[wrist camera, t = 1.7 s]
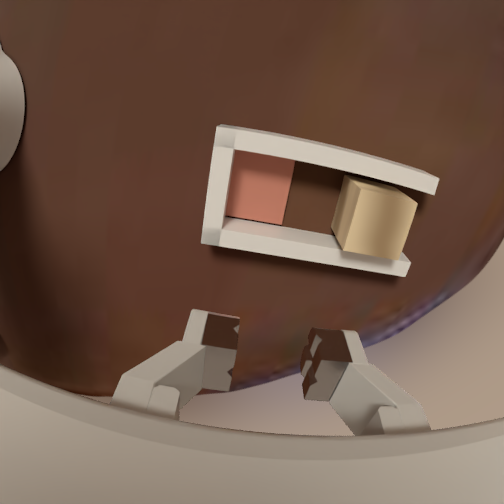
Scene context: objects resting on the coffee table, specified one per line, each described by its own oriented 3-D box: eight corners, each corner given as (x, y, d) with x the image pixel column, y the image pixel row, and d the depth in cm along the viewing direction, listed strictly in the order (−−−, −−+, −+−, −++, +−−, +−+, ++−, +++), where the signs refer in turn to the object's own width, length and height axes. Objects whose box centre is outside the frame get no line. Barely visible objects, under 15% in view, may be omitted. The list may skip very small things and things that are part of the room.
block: (330, 226, 29) (343, 250, 24) (344, 174, 27) (360, 189, 22) (379, 236, 29) (398, 260, 25) (394, 186, 27) (417, 203, 23)
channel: (206, 229, 29) (200, 243, 27) (221, 124, 25) (216, 126, 23) (394, 262, 30) (405, 277, 28) (423, 170, 26) (439, 178, 23)
